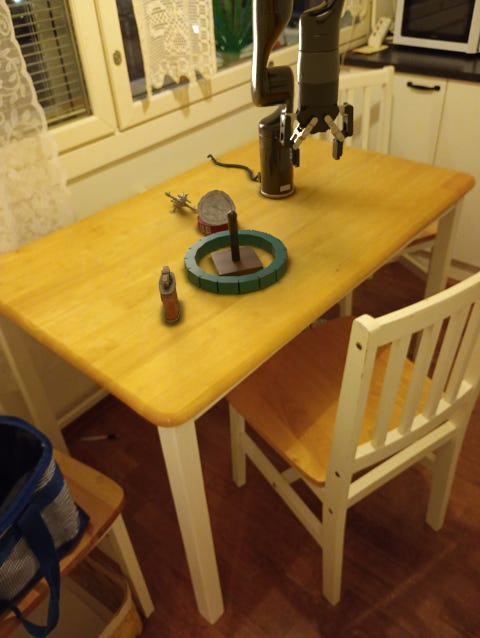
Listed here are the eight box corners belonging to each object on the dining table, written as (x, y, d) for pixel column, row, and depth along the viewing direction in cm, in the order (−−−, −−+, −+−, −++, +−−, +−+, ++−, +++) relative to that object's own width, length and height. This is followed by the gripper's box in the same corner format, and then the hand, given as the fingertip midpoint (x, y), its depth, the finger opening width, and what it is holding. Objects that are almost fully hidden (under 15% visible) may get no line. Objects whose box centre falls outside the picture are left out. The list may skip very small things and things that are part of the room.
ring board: (210, 258, 124) (204, 205, 116) (251, 250, 126) (247, 197, 118) (220, 280, 117) (214, 225, 108) (263, 272, 118) (260, 216, 110)
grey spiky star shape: (194, 200, 151) (204, 201, 142) (185, 219, 151) (194, 221, 143) (164, 183, 146) (172, 182, 138) (154, 202, 147) (161, 203, 138)
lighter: (165, 301, 112) (157, 261, 106) (180, 300, 112) (174, 260, 106) (163, 325, 105) (155, 283, 99) (180, 323, 105) (173, 282, 99)
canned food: (235, 235, 142) (250, 206, 135) (218, 250, 134) (233, 220, 128) (201, 212, 143) (215, 182, 136) (182, 225, 135) (196, 194, 129)
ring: (178, 250, 128) (177, 239, 127) (269, 233, 132) (269, 222, 130) (196, 303, 110) (195, 291, 109) (301, 281, 114) (301, 269, 112)
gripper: (345, 65, 99) (341, 150, 109) (274, 76, 97) (276, 161, 107) (363, 75, 93) (357, 163, 103) (287, 86, 91) (288, 175, 101)
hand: (316, 162), depth 105 cm, fingers open, 8 cm apart
